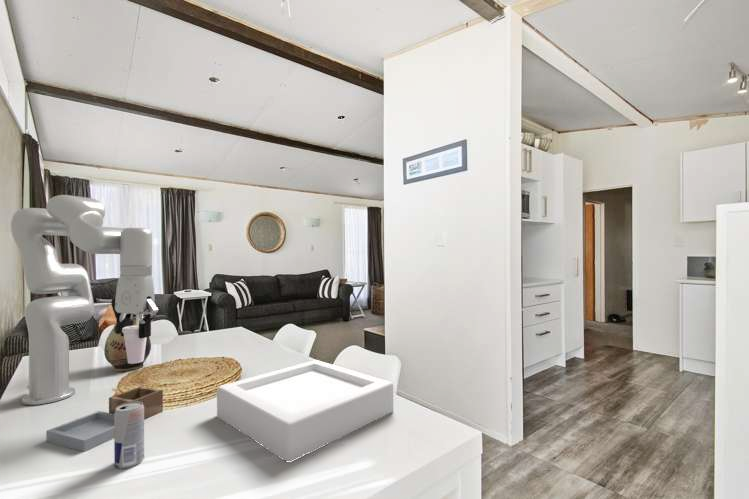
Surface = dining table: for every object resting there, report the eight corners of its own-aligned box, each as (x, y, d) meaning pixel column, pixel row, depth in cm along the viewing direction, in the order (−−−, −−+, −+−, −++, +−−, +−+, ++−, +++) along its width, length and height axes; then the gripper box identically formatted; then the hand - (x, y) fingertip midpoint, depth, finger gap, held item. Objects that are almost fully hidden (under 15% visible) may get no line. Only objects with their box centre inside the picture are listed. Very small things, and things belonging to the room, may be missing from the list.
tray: (216, 418, 102) (215, 385, 102) (316, 384, 128) (316, 358, 128) (288, 466, 78) (288, 424, 78) (394, 413, 104) (394, 381, 104)
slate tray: (46, 441, 89) (46, 430, 89) (98, 420, 100) (98, 410, 100) (84, 451, 84) (84, 440, 84) (135, 428, 95) (135, 418, 95)
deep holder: (108, 419, 100) (108, 397, 100) (140, 407, 109) (140, 386, 109) (132, 425, 97) (132, 402, 97) (162, 411, 105) (162, 390, 106)
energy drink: (123, 456, 82) (123, 401, 82) (149, 454, 82) (149, 400, 82) (108, 470, 77) (108, 412, 77) (135, 468, 77) (135, 410, 77)
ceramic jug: (126, 362, 155) (126, 290, 156) (159, 363, 153) (159, 290, 154) (89, 375, 139) (89, 295, 139) (126, 376, 136) (126, 295, 137)
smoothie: (136, 365, 99) (135, 313, 100) (116, 364, 101) (115, 313, 101) (154, 359, 106) (154, 309, 106) (135, 358, 107) (135, 309, 107)
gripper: (101, 272, 103) (100, 336, 103) (145, 273, 97) (145, 342, 97) (127, 270, 110) (127, 331, 110) (170, 272, 104) (170, 336, 104)
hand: (135, 335), depth 103 cm, fingers closed on smoothie, 6 cm apart
